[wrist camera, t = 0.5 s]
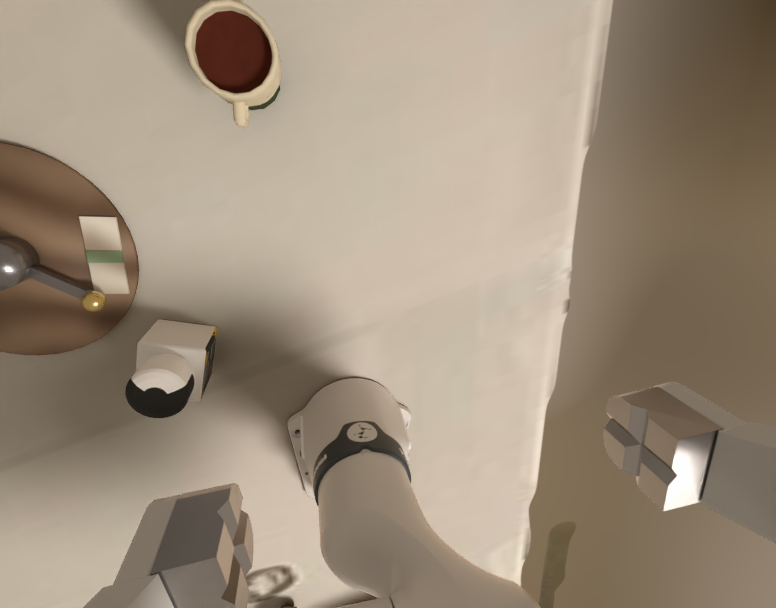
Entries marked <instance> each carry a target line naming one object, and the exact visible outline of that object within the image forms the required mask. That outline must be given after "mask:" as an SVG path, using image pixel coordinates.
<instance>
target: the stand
mask: <svg viewBox="0 0 776 608" xmlns="http://www.w3.org/2000/svg"><path fill="white" fill-rule="evenodd" d="M3 236H12V237H16V238H20V239H22V240H24V241H26V242H27V243H29V244H30V245H31V246H32V247H33V248H34V249H35V250H36V251H37V253H38V255H39V258H40V267H41V268H43V269H46V270H48V271H50V272H52V273H55V274H57V275H59V276H62V277H64V278H66V279H69V280H71V281H73V282H75V283H78V284H80V285H82V286H85V287H87V288H89V289H92V290H94V291H98V292H101V293H102V294H104V295H105V297H106V299H107V303H106V306H105V307H104V308H103V309H102V310H100V311H97V312H91V311H88V310H86V309H84V308H83V307H82V305H81V299H79V298H76V297H74V296H71V295H69V294H67V293H64V292H62V291H60V290H57V289H55V288H53V287H50V286H48V285H45V284H43V283H41V282H38V281H36V280H34V279H31V278H30V279H27V280H25V281H23V282H21V283H19V284H16V285H14V286H12V287H10V288H8V289H5V290H2V291H0V351H3V352H7V353H14V354H23V355H47V354H57V353H62V352H67V351H71V350H74V349H77V348H80V347H83V346H85V345H87V344H90V343H92V342H94V341H96V340H97V339H99V338H100V337H102V336H103V335H105V334H106V333H107V332H108V331H110V330H111V329H112V328H113V327H114V326H115V325H116V324H117V323H118V322H119V321H120V320H121V319H122V318H123V316H124V315H125V314H126V312H127V311H128V309H129V307H130V306H131V304H132V301H133V299H134V296H135V294H136V289H137V285H138V276H139V265H138V256H137V251H136V247H135V243H134V241H133V238H132V236H131V233H130V231H129V229H128V227H127V225H126V223H125V221H124V219H123V218H122V216H121V215H120V213H119V212H118V210H117V209H116V208H115V206H114V205H113V204H112V203H111V201H110V200H109V199H108V198H107V197H106V196H105V195H104V193H103V192H101V191H100V190H99V189H98V188H97V187H96V186H95V185H94V184H93V183H92V182H90V181H89V180H88V179H86V178H85V177H84V176H82V175H81V174H80V173H78V172H77V171H75V170H74V169H72V168H70V167H69V166H67V165H65V164H64V163H62V162H60V161H58V160H56V159H54V158H51V157H49V156H47V155H45V154H42V153H39V152H36V151H33V150H31V149H28V148H24V147H19V146H15V145H11V144H4V143H0V237H3Z"/></svg>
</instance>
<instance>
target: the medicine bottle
mask: <svg viewBox="0 0 776 608" xmlns="http://www.w3.org/2000/svg"><path fill="white" fill-rule="evenodd" d="M216 334H217V328H216V327H214V326H207V325H199V324H192V323H184V322H177V321H169V320H162V319H159V320H157V321H156V322H155V323H154V325H153V326H152V327H151V328H150V329H149V330H148V331H147V333H146V334H145V335H144V336H143V337H142V338H141V339H140V341H139V342H138V344H137V358H136V372H135V374H134V375H133V376H132V378H131V379H130V380H129V382H128V384H127V386H126V398H127V401H128V402H129V404H130V405H131V407H132V408H133V409H134V410H136V411H137V412H139V413H140V414H142V415H145V416H148V417H152V418H165V417H170V416H173V415H175V414H177V413H178V412H180V411H181V410H182V409H183V408H184V407H185V405H186V404H187V402H188V401H190V402H199V401H200V400H201V398H202V395H203V393H204V391H205V388H206V386H207V383H208V381H209V378H210V376H211V374H212V367H213V359H214V350H215V342H216Z"/></svg>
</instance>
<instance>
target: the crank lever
mask: <svg viewBox="0 0 776 608" xmlns="http://www.w3.org/2000/svg"><path fill="white" fill-rule="evenodd" d="M30 278H31V279H34V280H36V281H38V282H41V283H43V284H45V285H48V286H50V287H53V288H55V289H57V290H60V291H62V292H64V293H67V294H69V295H71V296H74V297H76V298H79V299H81V305H82V307H83V308H84V309H86V310H88V311H91V312H97V311H100V310H102V309H103V308H104V307H105V306H106V303H107V299H106V297H105V295H104V294H102V293H101V292H98V291H94V290H92V289H89V288H87V287H85V286H82V285H80V284H78V283H75V282H73V281H71V280H69V279H66V278H64V277H62V276H59V275H57V274H55V273H52V272H50V271H48V270H46V269H43V268H41V267H40V258H39V255H38V253H37V251H36V250H35V249H34V248H33V247H32V246H31V245H30V244H29V243H27V242H26V241H24V240H22V239H20V238H16V237H12V236H3V237H0V291H2V290H5V289H8V288H10V287H12V286H14V285H16V284H19V283H21V282H23V281H25V280H27V279H30Z"/></svg>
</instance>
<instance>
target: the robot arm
mask: <svg viewBox="0 0 776 608" xmlns="http://www.w3.org/2000/svg"><path fill="white" fill-rule="evenodd" d="M606 412H607V414H608V415H609V416H610V418H611V420H610V421H609V423H608V424H607V425H606V427H605V428H604V444H605V446H606V450H607V453H608V454H609V456H610V457H611V459H612V461H613V462H614V463H615V464H616V465H617V466H618V467H619V468H620V469H621V470H622V471H624V472H627V473H629V474H631V475H634V476H636V479H637V485H638V487H639V488H640V489H641V490H642V491H643V492H644V493H645V494H646V495H647V496H648V497H649V498H650V499H651V500H652V501H653V502H655V504H656V505H657V506H658V507H660V508H661V509H662V510H663V511H666V510H670V509H674V508H678V507H682V506H686V505H690V504H694V503H699V502H701V505H703V506H705V507H707V508H709V509H711V510H713V511H715V512H716V513H718V514H720V515H722V516H724V517H726V518H728V519H730V520H732V521H734V522H736V523H738V524H740V525H742V526H744V527H746V528H747V529H749V530H751V531H753V532H755V533H757V534H759V535H761V536H763V537H765V538H767V539H769V540H771V541H772V542H774V543H776V428H773V427H769V426H765V425H762V424H758V423H755V422H752V423H748V424H747V423H745V422H743V421H742V420H740V419H738V418H737V417H735V416H733V415H732V414H730V413H728V412H727V411H725V410H723V409H722V408H720V407H719V406H717V405H715V404H713V403H712V402H710V401H709V400H707V399H705V398H703V397H702V396H700V395H698V394H697V393H695V392H694V391H692V390H690V389H689V388H687V387H685V386H684V385H682V384H679V383H675V382H669V383H665V384H661V385H657V386H653V387H651V388H646V389H642V390H637V391H633V392H629V393H625V394H621V395H616V396H612V397H611V398H610V400H609V401H608V403H607V409H606ZM410 422H411V412H410V410H409V409H408V408H406V407H405V406H403V405H401V404H399V403H397V402H396V401H395V399H394V398H393V397H392V395H391V394H390V393H389V391H388V390H387V389H385V388H384V387H383V386H381V385H380V384H378V383H376V382H374V381H371V380H367V379H361V378H349V379H343V380H339V381H336V382H333V383H331V384H329V385H327V386H325V387H324V388H322V389H321V390H320V391H318V392H317V393H316V394H315V395H314V396H313V397H312V399H311V400H310V401H309V403H308V404H307V405H306V406H305V408H304V409H303V410H301V411H299V412H298V413H296V414H294V415H293V416H292V417H290V418H289V420H288V422H287V426H288V431H289V434H290V438H291V441H292V445H293V448H294V452H295V455H296V459H297V463H298V466H299V470H300V473H301V477H302V480H303V484H304V487H305V491H306V494H307V496H309V497H311V498H313V499H315V500H316V503H317V505H318V507H319V526H320V546H321V552H322V555H323V558H324V560H325V562H326V564H327V565H328V567H329V568H330V569H331V571H332V572H333V573H334V574H335V575H336V576H337V577H338V578H339V579H340V580H341V581H342V582H343V583H344V584H346V585H348V586H350V587H352V588H354V589H357V590H359V591H362V592H365V593H368V594H370V595H373V596H375V597H377V598H378V599H374V600H369V601H364V602H360V603H355V604H350V605H346V606H341V607H336V608H541V607H540V606H539V605H538V603H537V602H536V601H535V600H534V599H533V598H532V597H531V596H530V595H529V594H528V593H527V592H526V591H525V590H524V589H523V588H522V587H520V586H519V585H518V584H516V583H515V582H513V581H510V580H507V579H504V578H501V577H498V576H496V575H494V574H491V573H489V572H487V571H485V570H483V569H481V568H479V567H477V566H476V565H474V564H472V563H471V562H469V561H468V560H466V559H465V558H463V557H462V556H461V555H459V554H458V553H457V552H455V551H454V550H453V549H452V548H451V547H449V546H448V545H447V544H446V543H445V542H444V541H443V540H442V539H441V538H440V537H439V536H438V535H437V534H436V533H435V532H434V531H433V529H432V528H431V527H430V525H429V524H428V522H427V521H426V519H425V517H424V515H423V513H422V511H421V509H420V506H419V504H418V502H417V499H416V497H415V494H414V492H413V489H412V486H411V474H410V468H409V464H408V460H409V452H408V451H409V449H410V448H411V442H410V439H409V435H408V428H409V425H410ZM296 430H300V431H298V432H297V431H296ZM242 499H243V497H242V494H241V492H240V489H239V486H238V485H237V484H235V483H233V484H228V485H223V486H218V487H213V488H208V489H203V490H199V491H194V492H189V493H184V494H181V495H177V496H172V497H167V498H162V499H157V500H154V501H153V502H152V503H151V504H150V505H149V506H148V507H147V509H146V511H145V513H144V515H143V518H142V520H141V522H140V525H139V527H138V529H137V531H136V534H135V536H134V538H133V540H132V543H131V545H130V547H129V549H128V552H127V554H126V556H125V559H124V561H123V563H122V565H121V568H120V570H119V572H118V574H117V577H116V579H115V581H114V583H113V585H111V586H108V587H104V588H102V589H101V590H100V591H99V592H98V593H97V594H96V595H95V596H94V597H93V598H92V599H91V600H90V601H89V602H88V603H87V604H86V605H85V606H84V607H83V608H247V603H248V595H249V589H248V586H247V583H246V580H245V576H246V574H247V573H248V572H249V570H250V569H251V567H252V561H253V533H252V527H251V522H250V519H249V516H248V514H247V513H245V512H243V511H242V510H241V505H242Z"/></svg>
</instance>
